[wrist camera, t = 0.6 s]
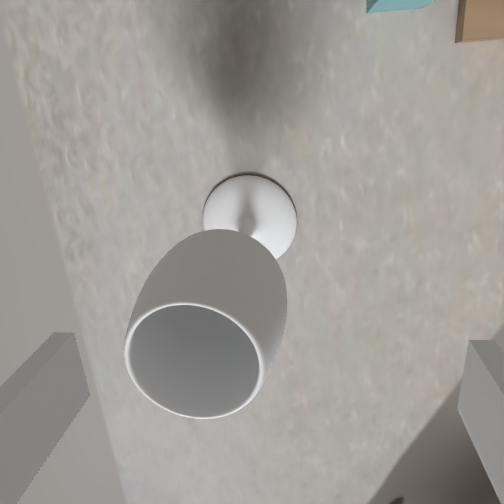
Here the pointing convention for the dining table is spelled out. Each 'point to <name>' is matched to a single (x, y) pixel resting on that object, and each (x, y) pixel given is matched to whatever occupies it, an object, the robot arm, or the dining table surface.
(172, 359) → the wineglass
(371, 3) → the link
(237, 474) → the dining table surface
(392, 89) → the dining table surface
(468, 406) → the robot arm
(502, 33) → the board
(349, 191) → the dining table surface
